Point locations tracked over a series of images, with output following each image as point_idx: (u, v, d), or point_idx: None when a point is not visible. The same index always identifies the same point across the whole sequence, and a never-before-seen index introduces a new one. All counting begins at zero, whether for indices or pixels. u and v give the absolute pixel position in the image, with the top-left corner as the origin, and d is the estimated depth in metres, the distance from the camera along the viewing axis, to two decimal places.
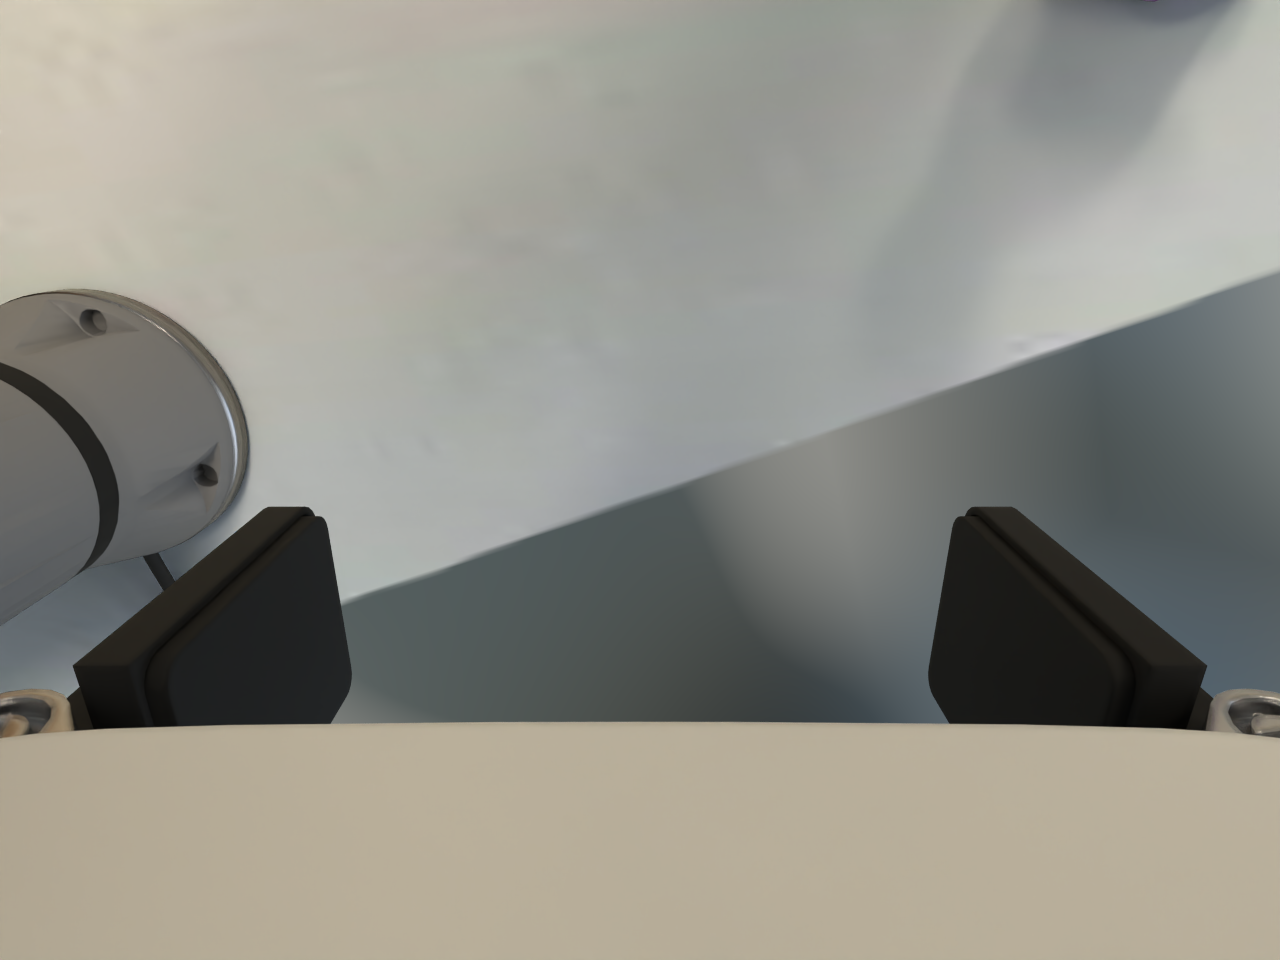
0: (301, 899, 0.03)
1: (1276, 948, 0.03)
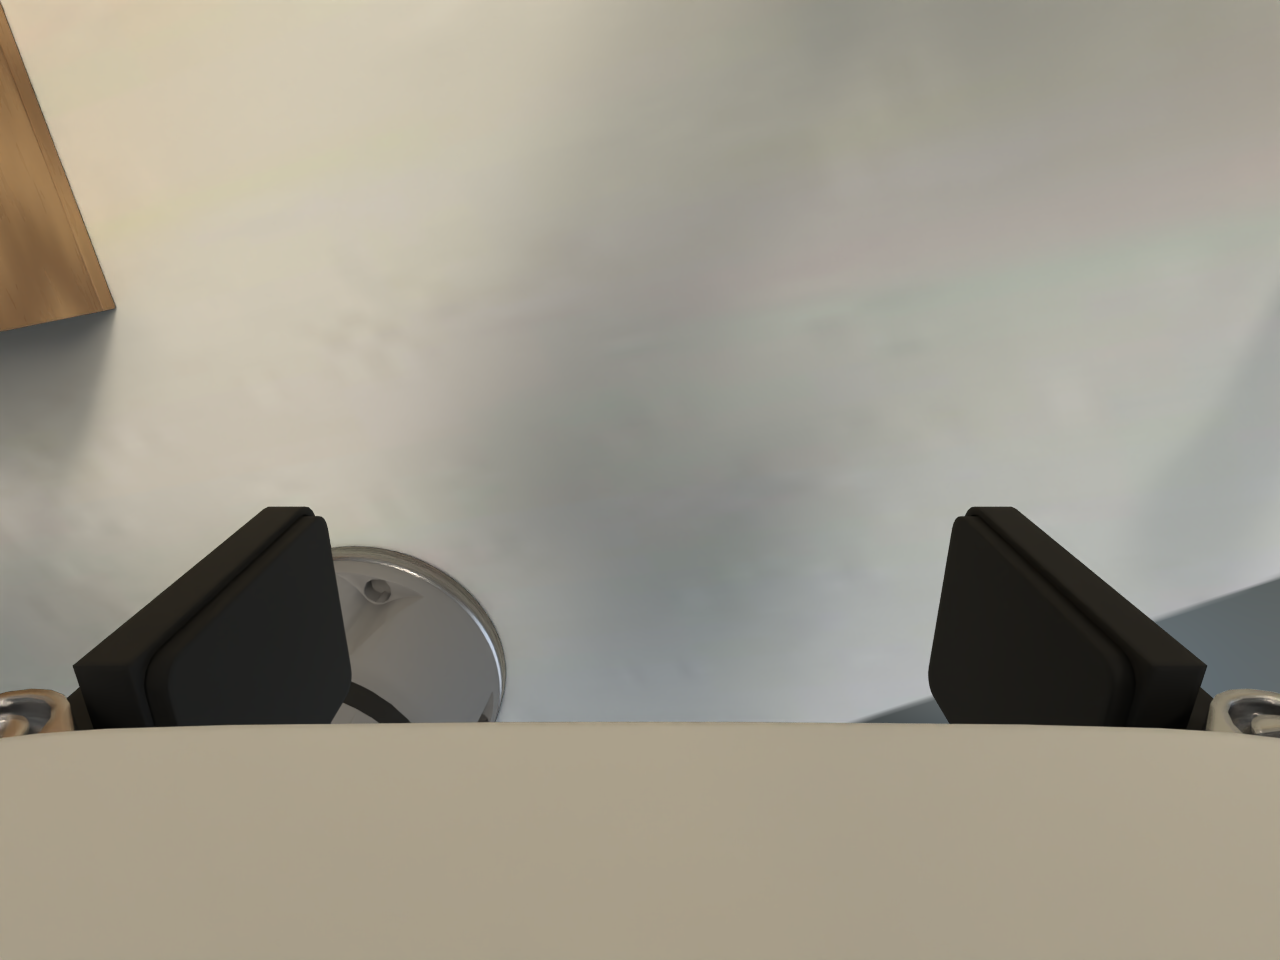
0: (302, 898, 0.03)
1: (1275, 947, 0.03)
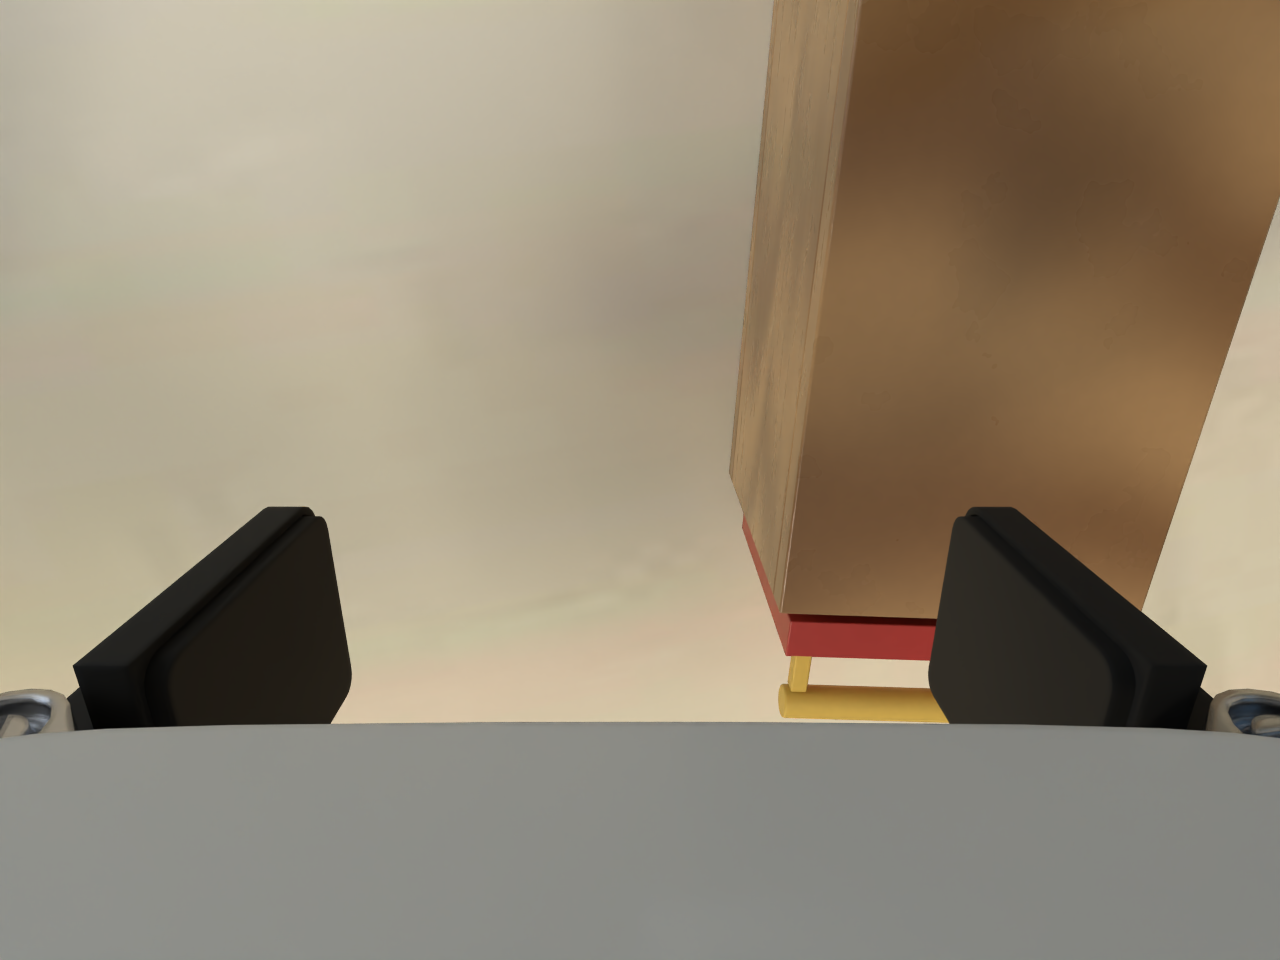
0: (301, 899, 0.03)
1: (1276, 947, 0.03)
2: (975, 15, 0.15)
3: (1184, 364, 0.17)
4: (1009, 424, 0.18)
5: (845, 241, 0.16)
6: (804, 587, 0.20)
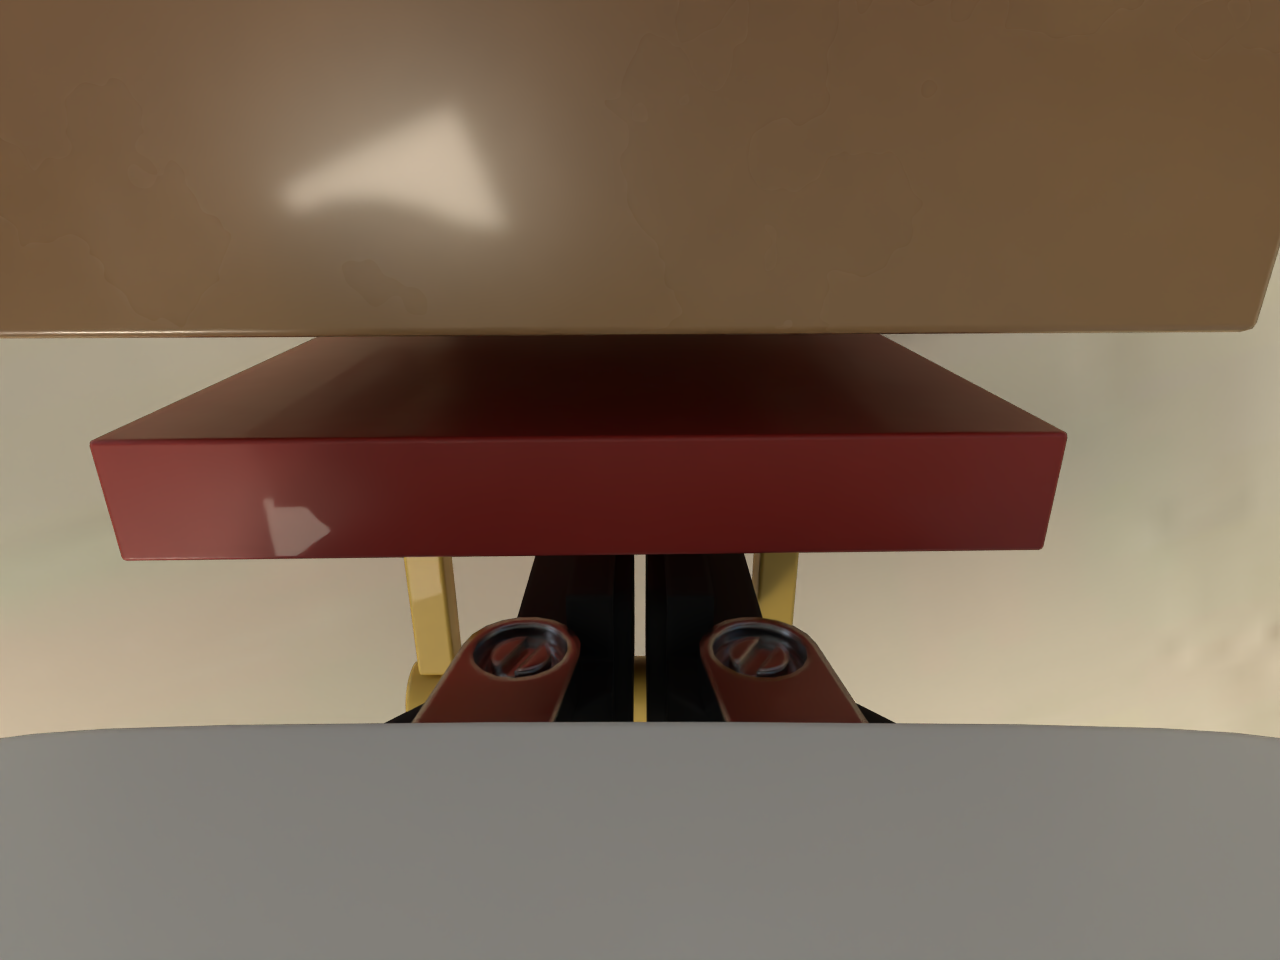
0: (301, 899, 0.03)
1: (1275, 948, 0.03)
2: None
3: None
4: None
5: None
6: None
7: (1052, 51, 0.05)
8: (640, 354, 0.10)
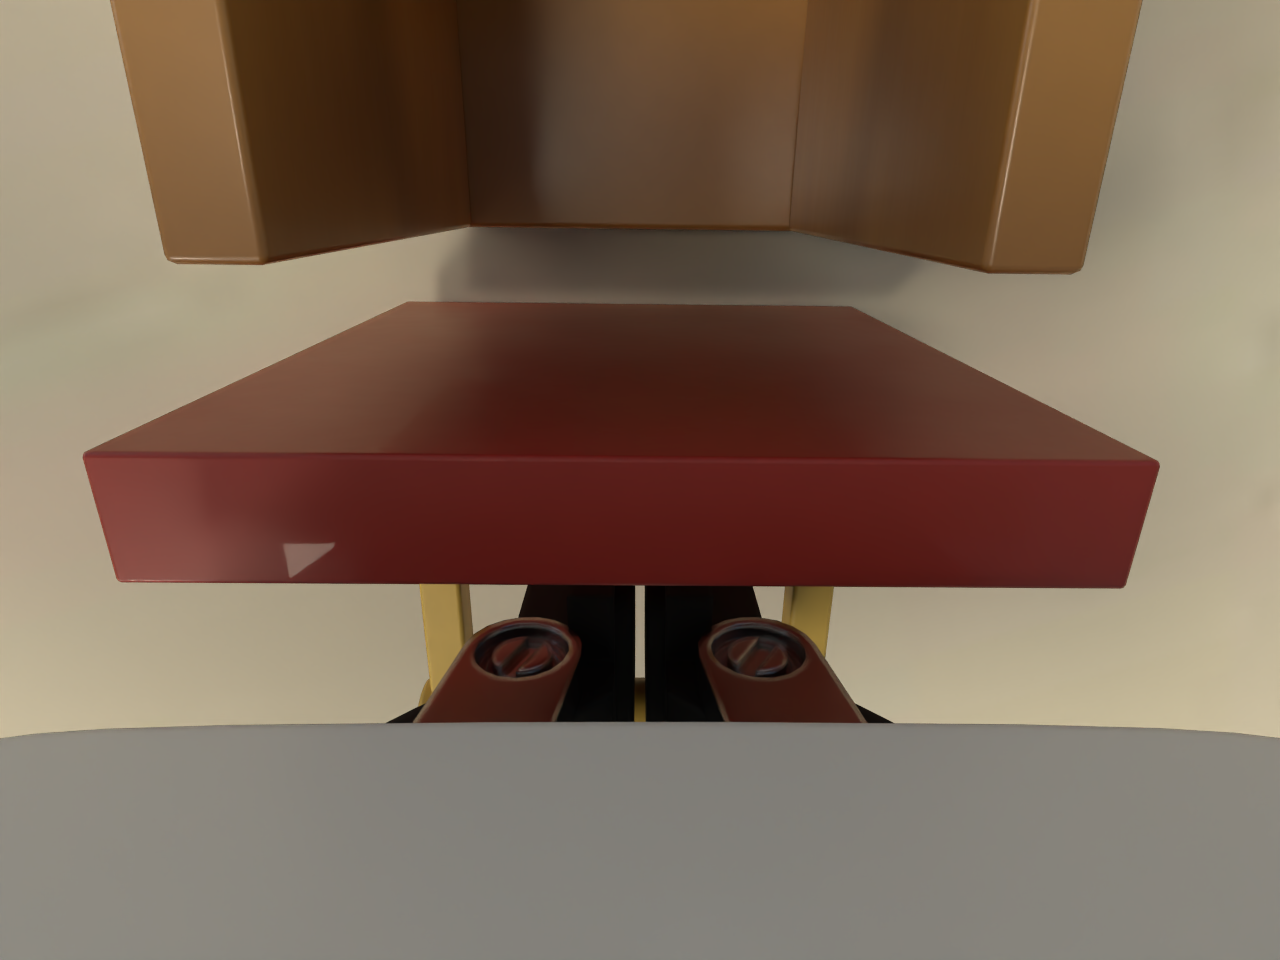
0: (301, 899, 0.03)
1: (1276, 948, 0.03)
2: None
3: None
4: None
5: None
6: None
7: None
8: (674, 362, 0.09)
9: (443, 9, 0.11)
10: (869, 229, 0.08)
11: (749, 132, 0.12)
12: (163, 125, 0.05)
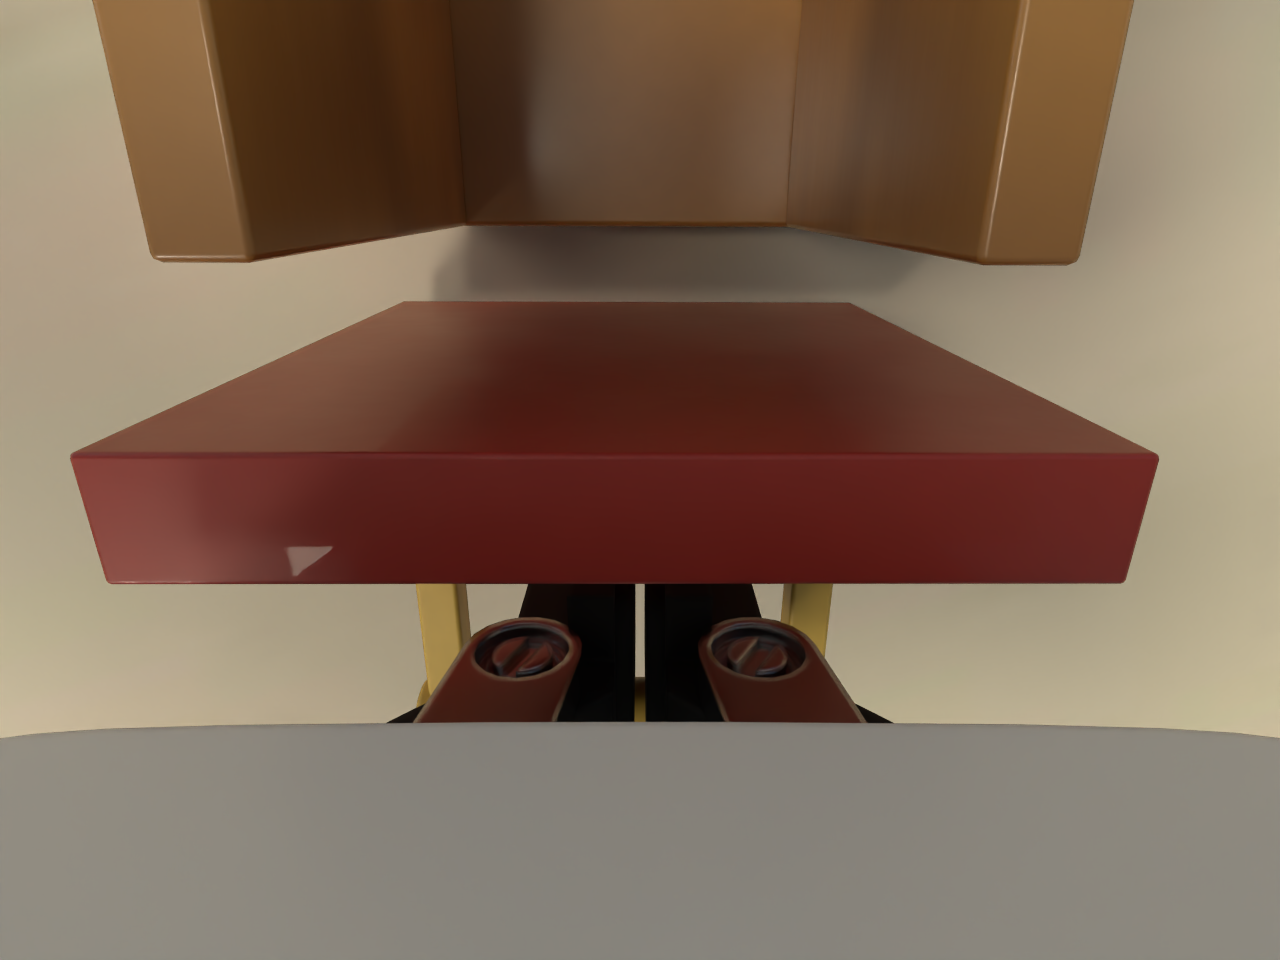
0: (301, 899, 0.03)
1: (1276, 948, 0.03)
2: None
3: None
4: None
5: None
6: None
7: None
8: (669, 359, 0.09)
9: (435, 6, 0.11)
10: (864, 223, 0.08)
11: (745, 128, 0.12)
12: (146, 122, 0.05)
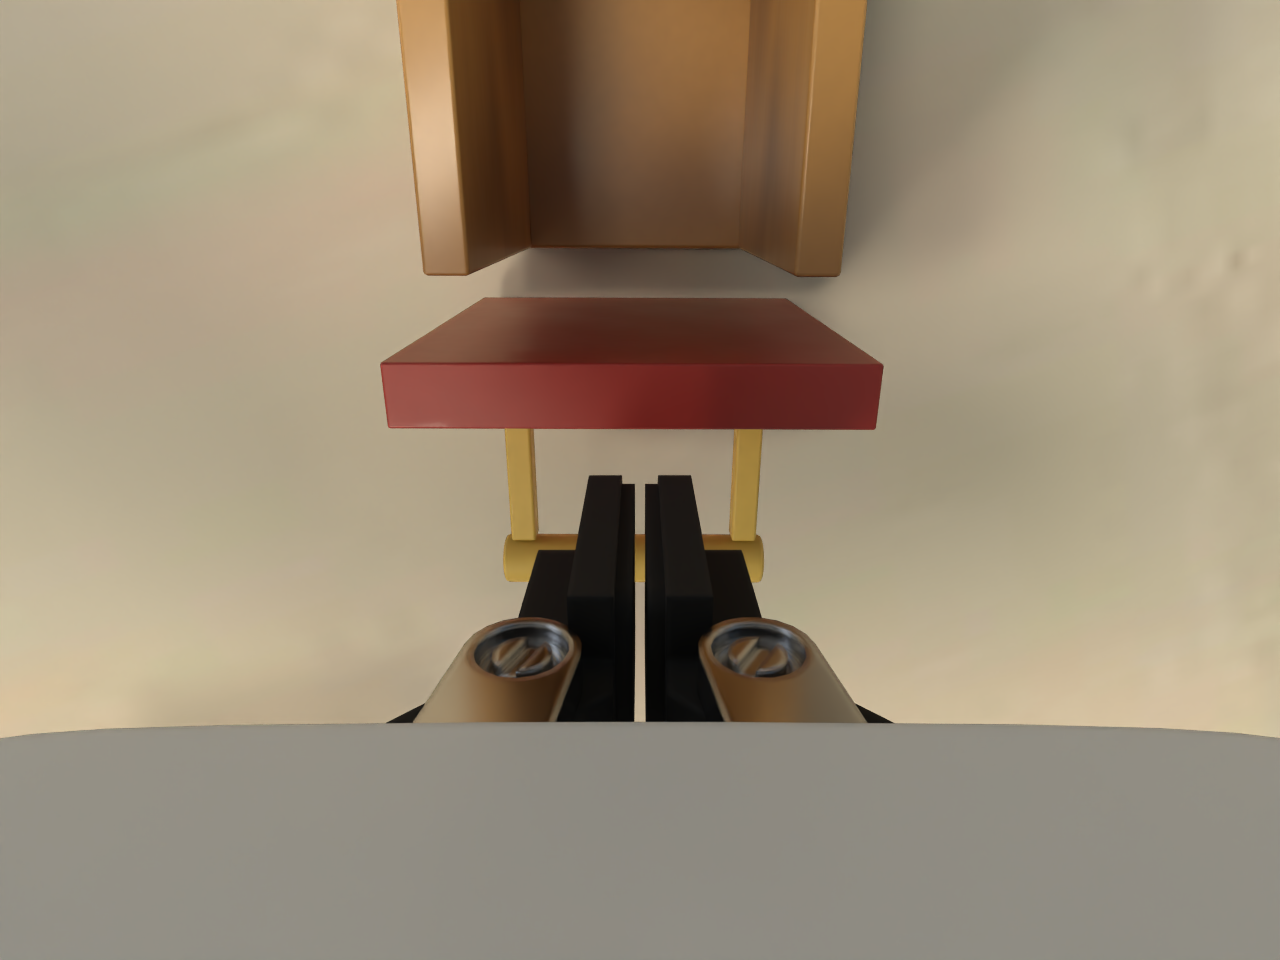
0: (304, 899, 0.03)
1: (1276, 947, 0.03)
2: None
3: None
4: None
5: None
6: None
7: None
8: (659, 328, 0.16)
9: (519, 117, 0.17)
10: (766, 251, 0.15)
11: (711, 186, 0.19)
12: (429, 215, 0.12)
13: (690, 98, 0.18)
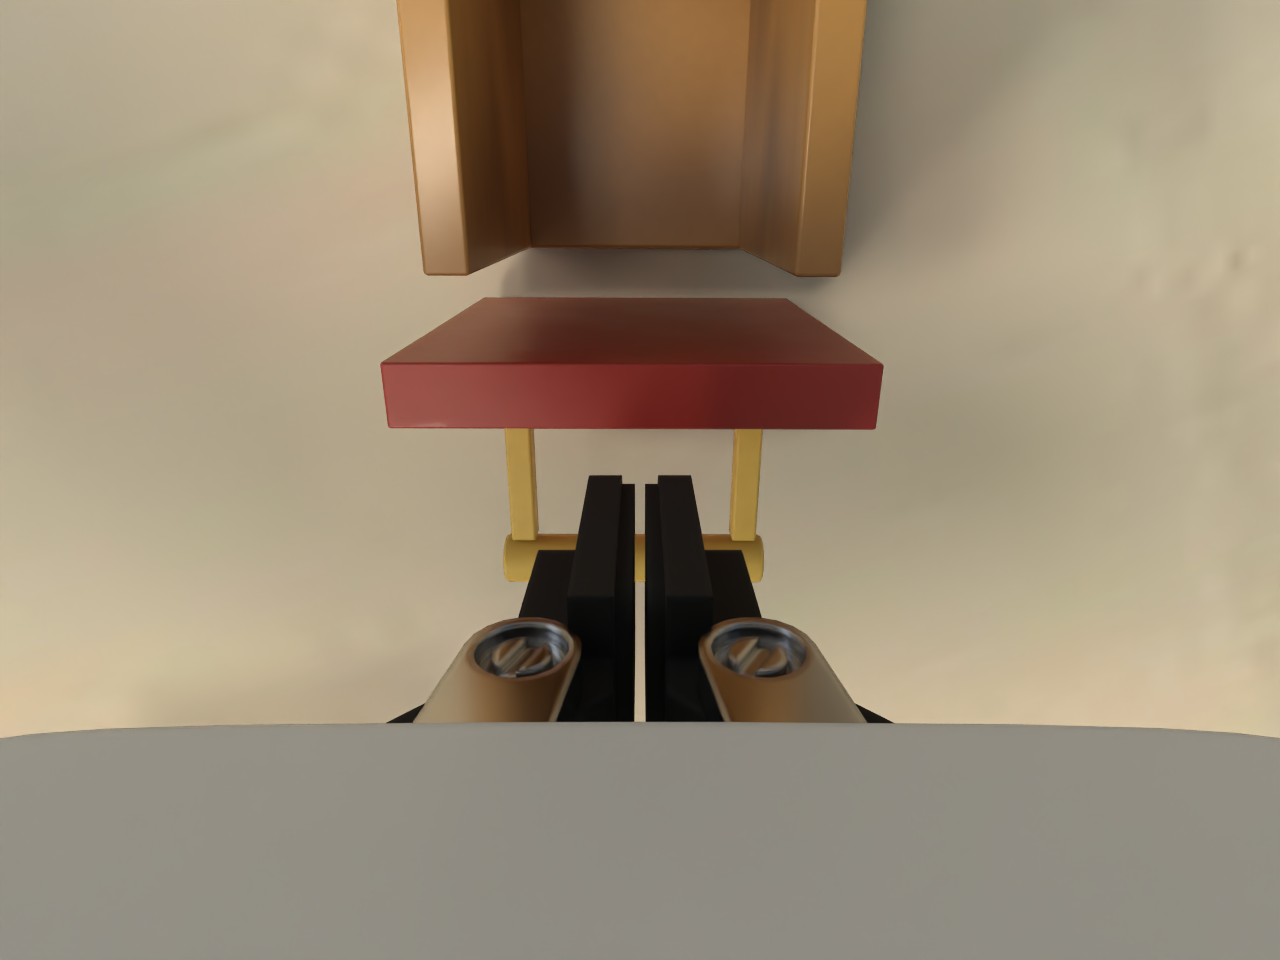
0: (304, 899, 0.03)
1: (1276, 947, 0.03)
2: None
3: None
4: None
5: None
6: None
7: None
8: (660, 328, 0.16)
9: (520, 117, 0.17)
10: (766, 251, 0.15)
11: (711, 186, 0.19)
12: (430, 215, 0.12)
13: (690, 98, 0.18)
